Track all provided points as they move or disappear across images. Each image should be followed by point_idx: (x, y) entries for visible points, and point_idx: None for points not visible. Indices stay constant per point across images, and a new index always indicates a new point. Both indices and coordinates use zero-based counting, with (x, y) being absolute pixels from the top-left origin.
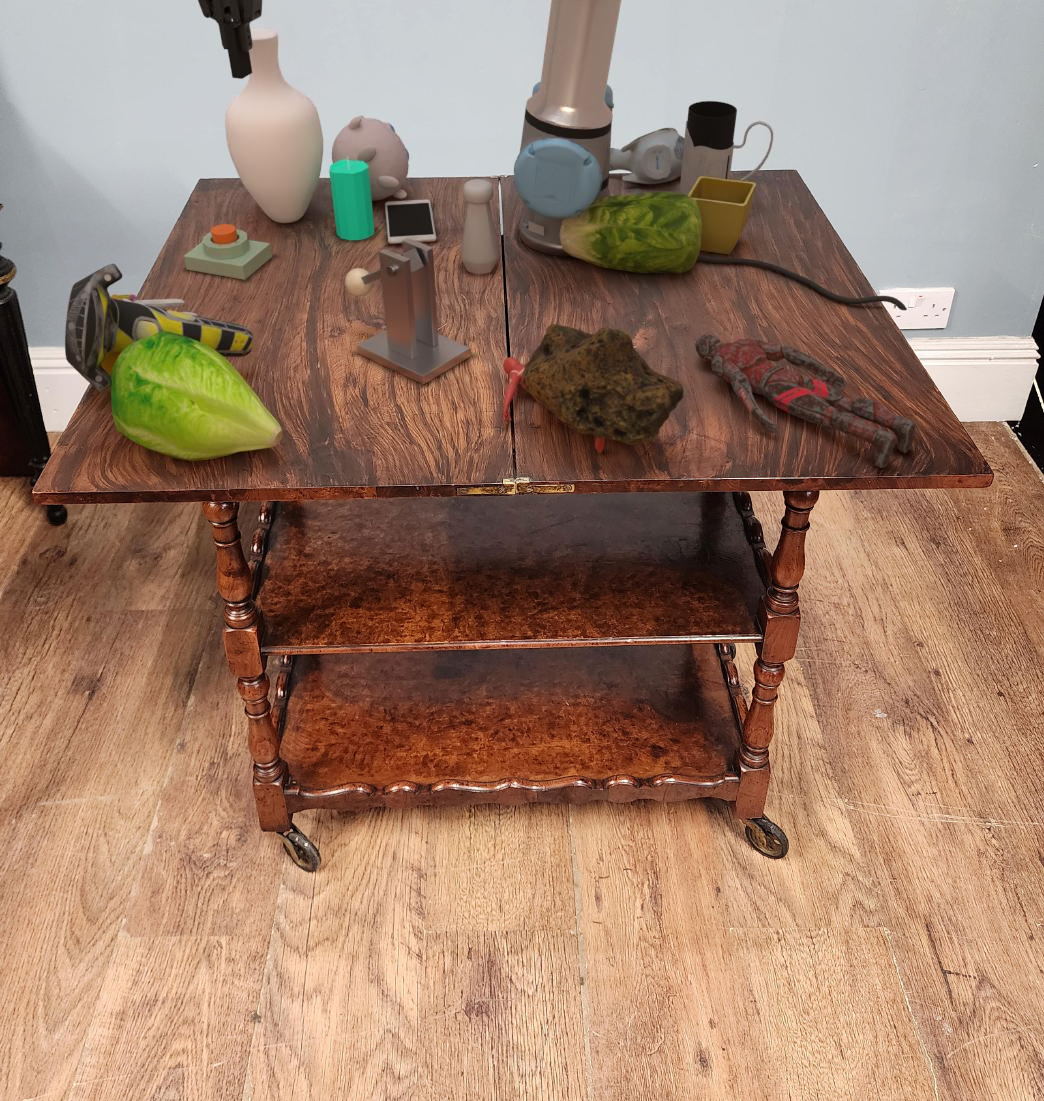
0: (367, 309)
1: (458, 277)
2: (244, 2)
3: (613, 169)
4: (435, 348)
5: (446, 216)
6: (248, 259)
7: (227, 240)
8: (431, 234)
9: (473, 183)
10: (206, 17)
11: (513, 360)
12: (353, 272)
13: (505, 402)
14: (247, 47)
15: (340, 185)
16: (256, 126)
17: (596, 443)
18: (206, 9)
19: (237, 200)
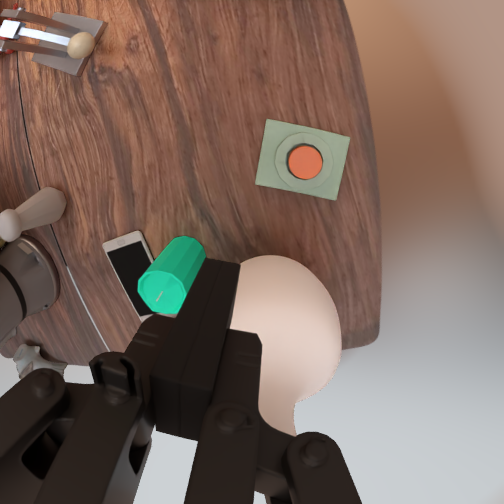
0: (117, 93)
1: (66, 179)
2: (13, 442)
3: (52, 362)
4: (49, 46)
5: (119, 298)
6: (265, 137)
7: (295, 148)
8: (108, 251)
9: (4, 225)
10: (319, 434)
11: None
12: (75, 38)
13: None
14: (142, 322)
15: (167, 263)
16: (268, 301)
17: None
18: (311, 471)
19: (340, 310)
